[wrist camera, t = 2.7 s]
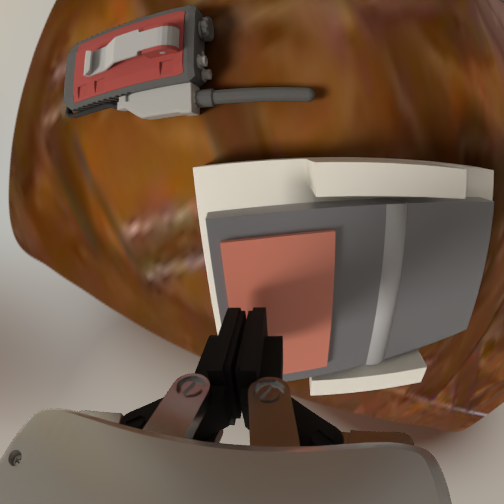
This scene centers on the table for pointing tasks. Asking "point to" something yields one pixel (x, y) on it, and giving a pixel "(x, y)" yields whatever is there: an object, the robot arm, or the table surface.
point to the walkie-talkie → (155, 70)
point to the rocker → (352, 274)
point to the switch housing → (333, 189)
